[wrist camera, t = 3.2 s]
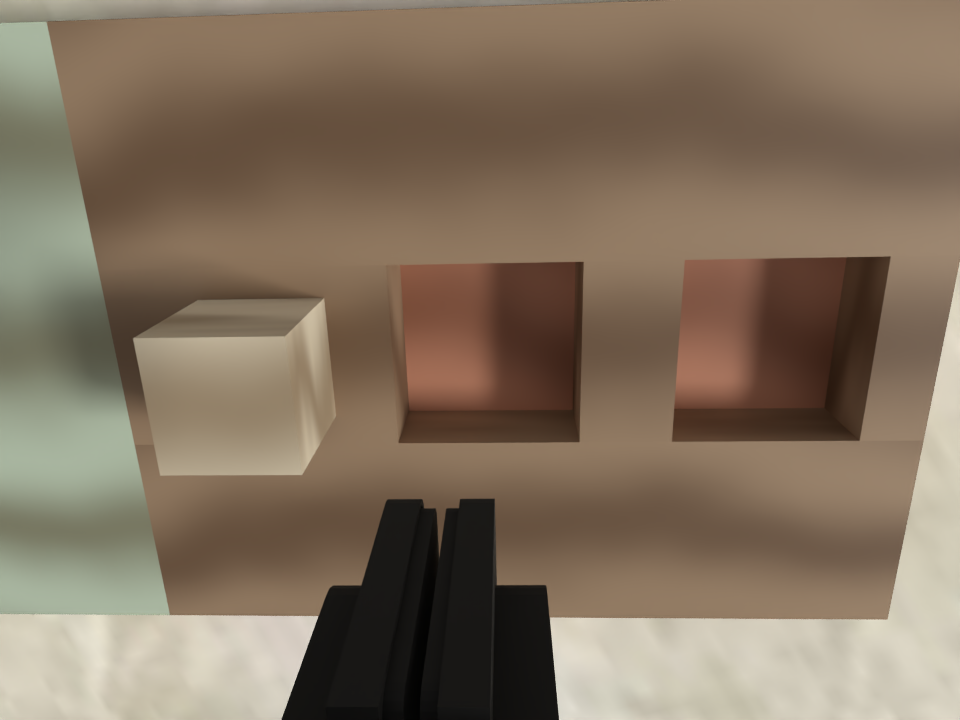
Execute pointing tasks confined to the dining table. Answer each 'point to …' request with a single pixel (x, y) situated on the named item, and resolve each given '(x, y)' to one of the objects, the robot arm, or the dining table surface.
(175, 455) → the maple block
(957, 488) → the dining table surface
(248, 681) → the dining table surface
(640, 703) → the dining table surface
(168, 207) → the board
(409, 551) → the robot arm
